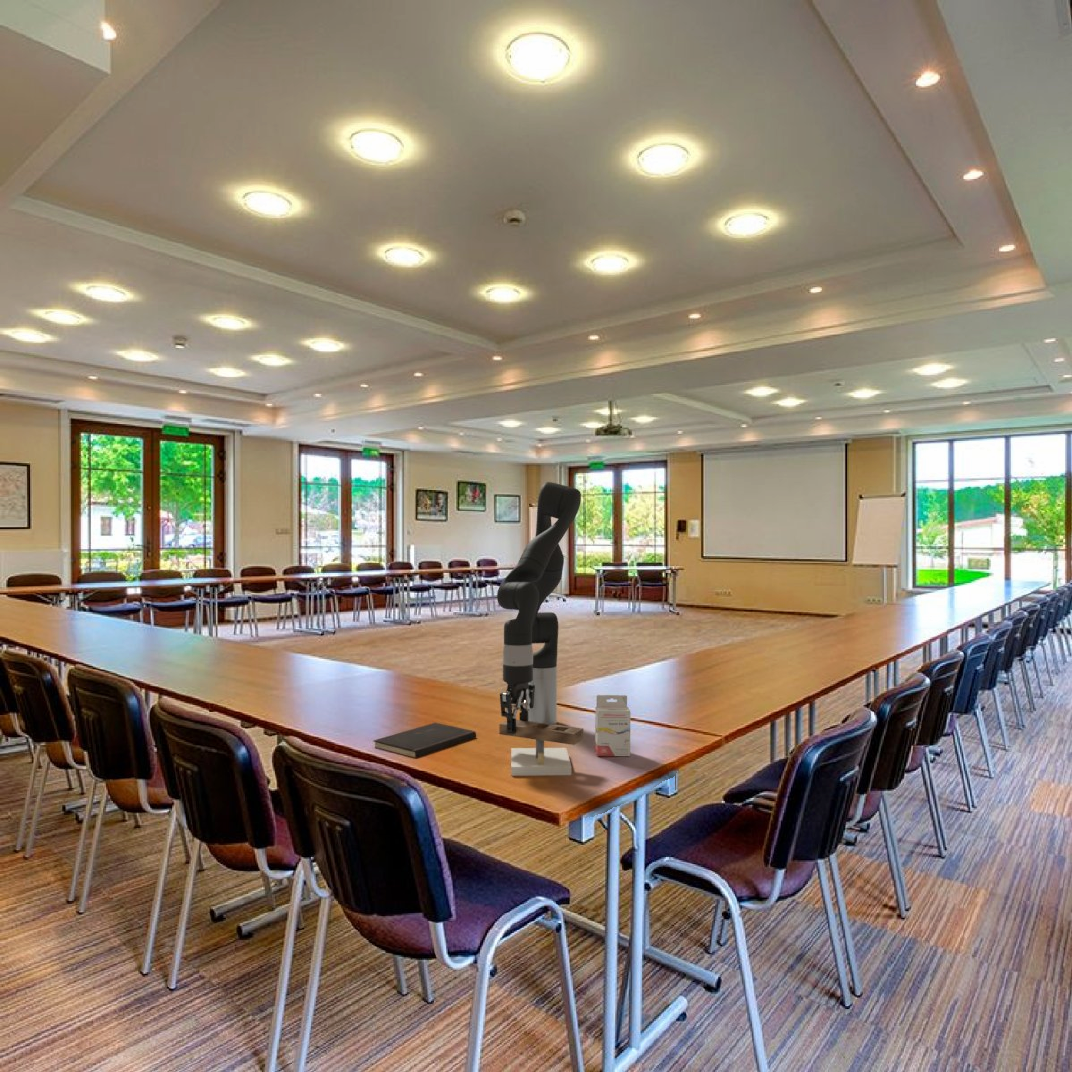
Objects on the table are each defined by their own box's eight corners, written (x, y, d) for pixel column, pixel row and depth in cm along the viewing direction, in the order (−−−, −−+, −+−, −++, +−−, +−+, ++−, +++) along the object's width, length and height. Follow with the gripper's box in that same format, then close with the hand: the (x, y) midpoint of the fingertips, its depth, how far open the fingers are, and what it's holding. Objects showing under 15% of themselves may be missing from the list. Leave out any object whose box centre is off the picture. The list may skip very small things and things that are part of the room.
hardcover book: (373, 749, 184) (373, 740, 184) (435, 730, 202) (435, 722, 202) (415, 760, 174) (415, 751, 174) (476, 739, 193) (476, 731, 193)
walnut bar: (499, 734, 171) (499, 724, 171) (511, 728, 176) (511, 718, 176) (573, 744, 162) (573, 734, 162) (583, 738, 167) (583, 728, 167)
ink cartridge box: (597, 757, 175) (597, 698, 176) (594, 751, 180) (594, 694, 180) (630, 757, 176) (630, 698, 176) (627, 751, 181) (627, 694, 181)
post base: (511, 756, 176) (511, 724, 176) (566, 755, 177) (566, 724, 177) (511, 775, 161) (511, 741, 161) (571, 775, 162) (571, 740, 162)
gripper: (517, 667, 164) (516, 739, 164) (544, 659, 177) (544, 725, 176) (489, 665, 167) (489, 735, 167) (518, 657, 180) (518, 722, 180)
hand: (517, 730), depth 172 cm, fingers closed on walnut bar, 5 cm apart
